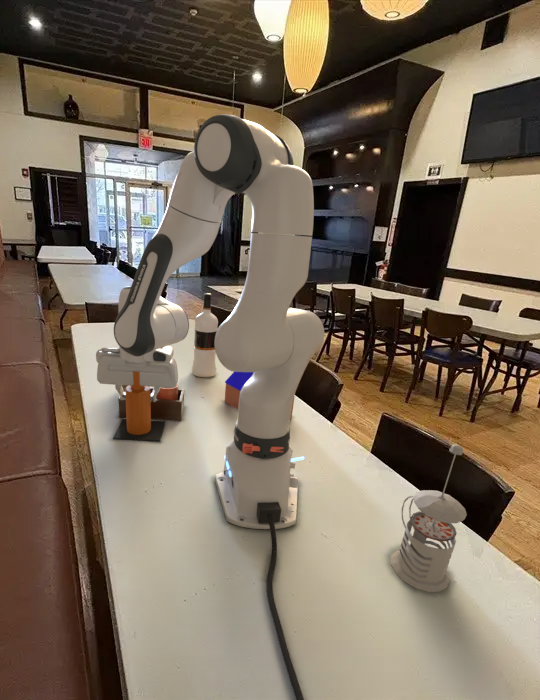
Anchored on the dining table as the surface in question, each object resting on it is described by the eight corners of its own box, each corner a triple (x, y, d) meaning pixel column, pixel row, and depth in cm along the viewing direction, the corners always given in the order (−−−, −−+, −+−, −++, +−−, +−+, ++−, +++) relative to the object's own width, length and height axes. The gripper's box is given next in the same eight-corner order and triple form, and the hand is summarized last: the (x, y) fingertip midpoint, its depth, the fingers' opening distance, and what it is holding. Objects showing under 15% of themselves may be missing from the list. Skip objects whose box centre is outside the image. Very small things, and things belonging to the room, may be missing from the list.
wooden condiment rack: (181, 420, 118) (181, 401, 116) (119, 417, 117) (118, 398, 115) (184, 407, 127) (184, 389, 125) (126, 404, 126) (125, 385, 124)
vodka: (210, 379, 150) (214, 297, 139) (187, 375, 153) (189, 293, 142) (219, 372, 158) (224, 293, 147) (198, 367, 161) (201, 290, 150)
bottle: (148, 435, 108) (147, 374, 102) (124, 434, 108) (122, 373, 102) (152, 424, 114) (151, 366, 108) (129, 423, 114) (127, 365, 107)
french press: (414, 597, 67) (455, 465, 58) (374, 545, 77) (403, 427, 68) (463, 586, 70) (509, 459, 61) (417, 538, 80) (451, 423, 71)
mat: (159, 441, 107) (159, 440, 107) (112, 439, 106) (112, 437, 106) (165, 422, 117) (165, 420, 117) (122, 419, 116) (122, 418, 116)
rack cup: (176, 418, 120) (177, 389, 117) (155, 416, 120) (155, 388, 116) (178, 409, 125) (179, 381, 122) (158, 408, 125) (158, 380, 122)
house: (263, 426, 119) (268, 389, 115) (223, 401, 133) (225, 367, 129) (293, 417, 126) (298, 381, 122) (251, 394, 141) (254, 361, 136)
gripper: (91, 350, 100) (94, 402, 105) (176, 356, 101) (175, 407, 106) (99, 343, 106) (101, 393, 111) (179, 348, 107) (178, 397, 112)
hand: (138, 400), depth 108 cm, fingers closed on bottle, 6 cm apart
